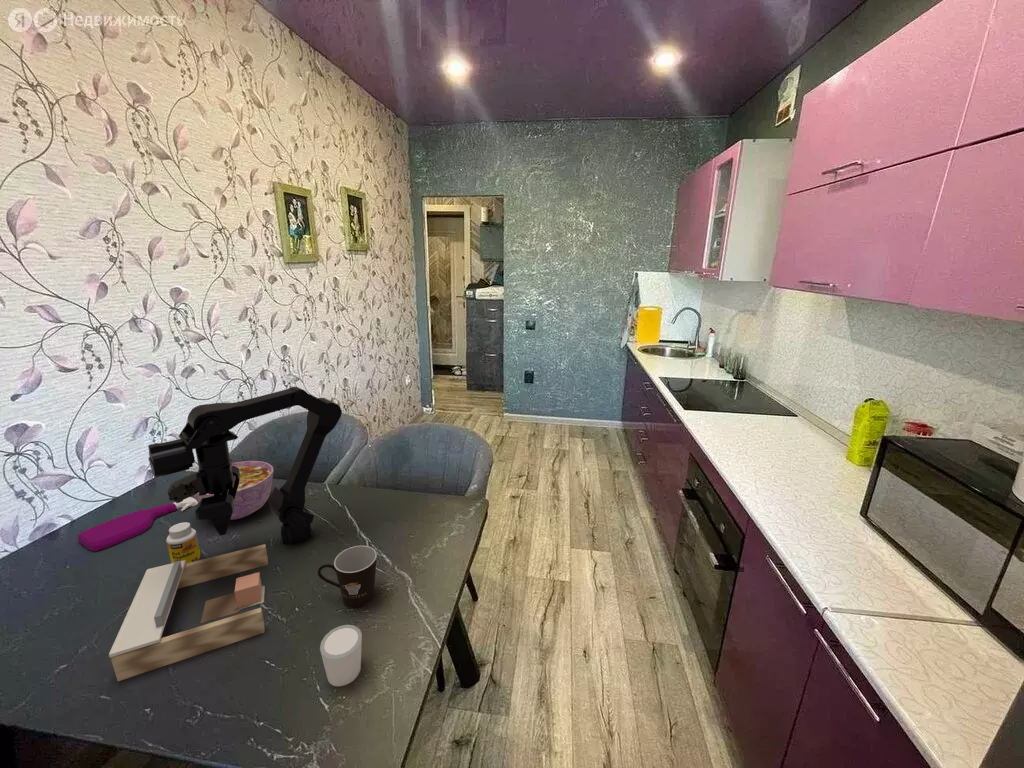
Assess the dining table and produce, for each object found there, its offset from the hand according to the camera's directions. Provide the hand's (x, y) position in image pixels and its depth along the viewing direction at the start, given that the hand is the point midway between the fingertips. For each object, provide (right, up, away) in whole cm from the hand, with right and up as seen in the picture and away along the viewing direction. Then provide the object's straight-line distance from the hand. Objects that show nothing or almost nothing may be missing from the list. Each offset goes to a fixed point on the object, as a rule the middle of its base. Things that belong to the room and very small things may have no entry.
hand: (225, 523), depth 93 cm
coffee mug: (+31, -15, -3) cm, 34 cm away
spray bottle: (-36, -7, +20) cm, 42 cm away
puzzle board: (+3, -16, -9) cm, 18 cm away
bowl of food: (-14, -6, +26) cm, 30 cm away
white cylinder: (+36, -20, -20) cm, 46 cm away
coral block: (+10, -14, -6) cm, 18 cm away
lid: (-4, -10, -15) cm, 18 cm away
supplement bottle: (-13, -11, +5) cm, 18 cm away
